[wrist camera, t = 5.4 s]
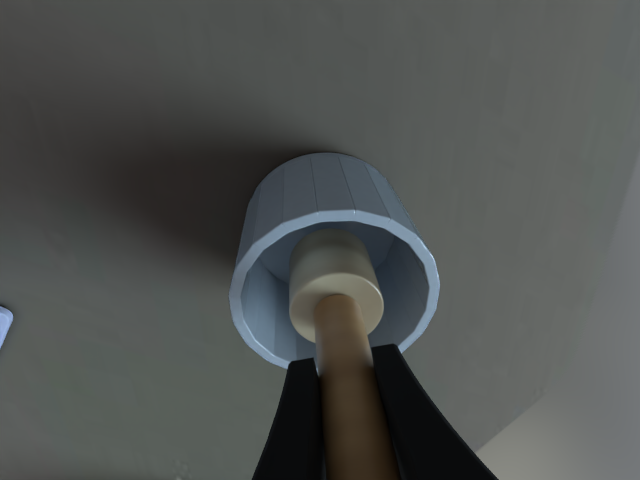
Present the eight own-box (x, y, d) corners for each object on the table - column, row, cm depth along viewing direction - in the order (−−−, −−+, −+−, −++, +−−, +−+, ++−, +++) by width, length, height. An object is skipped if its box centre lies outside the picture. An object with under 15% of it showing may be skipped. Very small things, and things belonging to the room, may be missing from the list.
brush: (273, 272, 16) (257, 569, 7) (319, 212, 15) (361, 487, 6) (337, 305, 17) (384, 595, 9) (384, 252, 16) (494, 530, 7)
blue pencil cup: (216, 247, 18) (191, 329, 14) (302, 117, 16) (308, 165, 11) (339, 309, 21) (354, 398, 16) (432, 207, 18) (482, 277, 13)
